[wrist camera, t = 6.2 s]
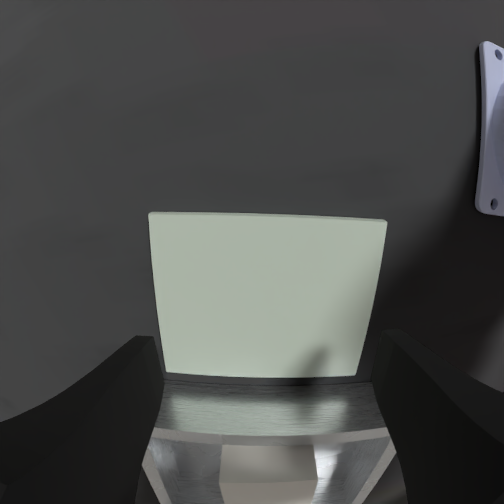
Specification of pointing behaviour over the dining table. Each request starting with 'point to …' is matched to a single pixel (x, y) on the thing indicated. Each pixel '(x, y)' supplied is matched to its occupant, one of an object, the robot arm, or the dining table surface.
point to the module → (268, 474)
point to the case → (267, 436)
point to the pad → (264, 292)
